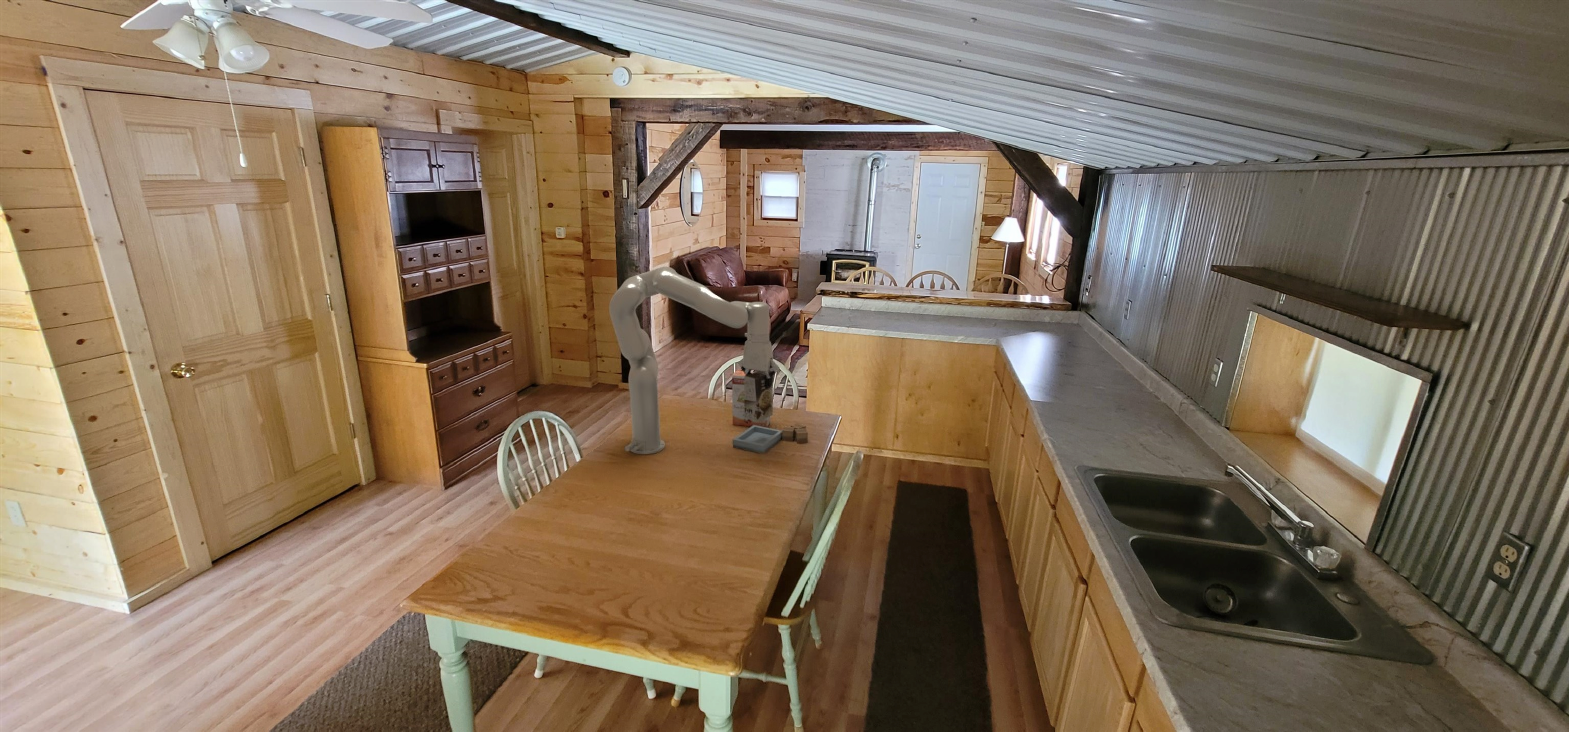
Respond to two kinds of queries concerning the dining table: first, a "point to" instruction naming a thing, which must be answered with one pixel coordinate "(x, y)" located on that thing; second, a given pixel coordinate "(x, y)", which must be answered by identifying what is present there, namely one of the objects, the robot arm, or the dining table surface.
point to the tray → (757, 439)
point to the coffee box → (757, 397)
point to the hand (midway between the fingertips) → (758, 385)
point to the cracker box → (742, 403)
